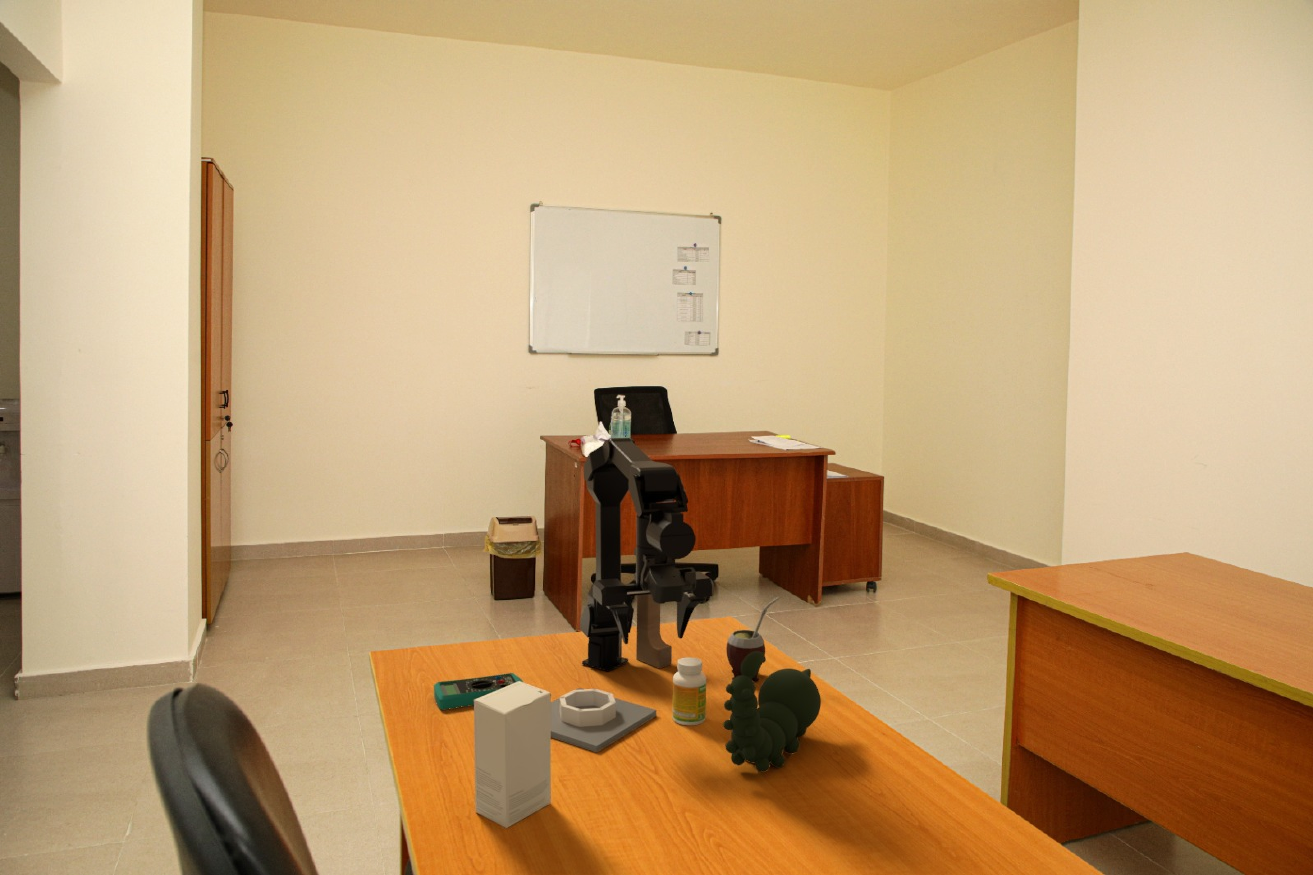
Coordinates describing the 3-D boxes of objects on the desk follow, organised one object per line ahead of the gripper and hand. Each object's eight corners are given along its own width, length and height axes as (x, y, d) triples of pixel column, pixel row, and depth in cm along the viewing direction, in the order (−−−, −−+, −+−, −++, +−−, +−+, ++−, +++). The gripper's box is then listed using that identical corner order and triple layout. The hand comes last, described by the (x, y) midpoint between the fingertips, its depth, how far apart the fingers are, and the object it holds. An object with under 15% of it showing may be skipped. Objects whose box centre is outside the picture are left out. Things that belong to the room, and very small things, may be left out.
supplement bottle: (702, 727, 144) (704, 668, 143) (669, 724, 145) (670, 665, 144) (707, 714, 149) (708, 657, 148) (675, 711, 150) (676, 654, 149)
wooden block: (635, 659, 174) (636, 583, 172) (648, 655, 176) (649, 580, 174) (659, 669, 169) (660, 590, 167) (671, 664, 171) (673, 587, 169)
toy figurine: (769, 805, 124) (837, 724, 144) (767, 675, 120) (837, 612, 141) (708, 786, 129) (783, 710, 149) (705, 661, 125) (781, 601, 146)
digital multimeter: (527, 701, 154) (527, 684, 154) (439, 713, 149) (438, 696, 149) (518, 686, 161) (517, 670, 161) (432, 697, 156) (432, 680, 155)
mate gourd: (717, 675, 166) (719, 595, 164) (747, 665, 171) (749, 588, 169) (748, 688, 160) (750, 605, 159) (777, 677, 166) (779, 597, 164)
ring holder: (579, 693, 157) (579, 673, 157) (656, 715, 148) (656, 695, 148) (516, 725, 144) (516, 704, 143) (596, 752, 135) (596, 730, 134)
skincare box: (520, 788, 124) (520, 678, 122) (554, 805, 120) (554, 691, 118) (472, 813, 117) (471, 697, 116) (506, 831, 113) (505, 711, 112)
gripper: (612, 560, 133) (612, 664, 135) (729, 552, 139) (727, 650, 141) (592, 544, 143) (591, 640, 145) (701, 537, 150) (699, 629, 151)
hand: (653, 640), depth 145 cm, fingers open, 9 cm apart
